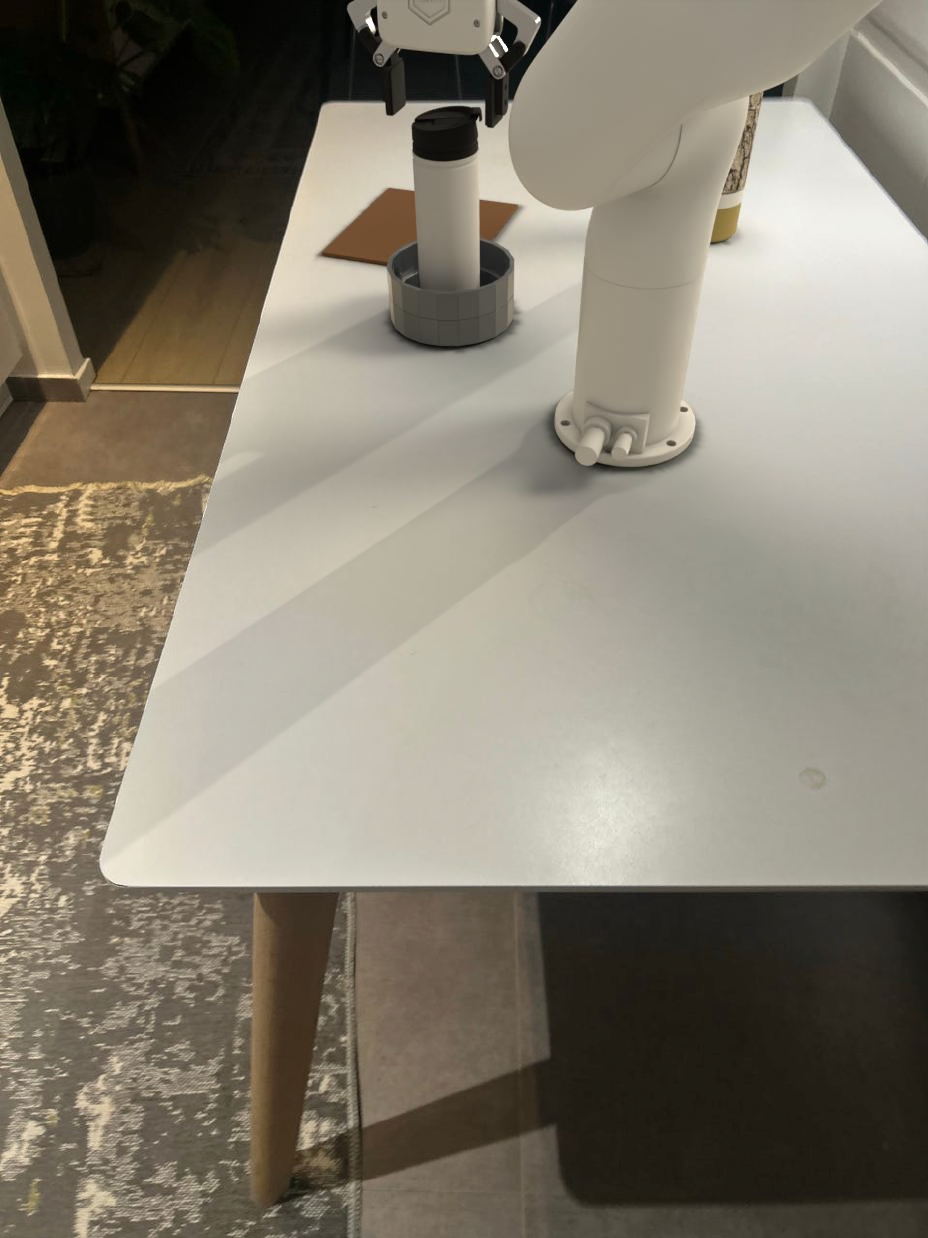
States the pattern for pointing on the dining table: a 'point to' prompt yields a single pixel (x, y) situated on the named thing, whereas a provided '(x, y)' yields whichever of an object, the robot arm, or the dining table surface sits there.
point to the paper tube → (737, 176)
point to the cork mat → (401, 227)
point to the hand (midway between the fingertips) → (444, 116)
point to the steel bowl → (452, 300)
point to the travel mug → (447, 197)
